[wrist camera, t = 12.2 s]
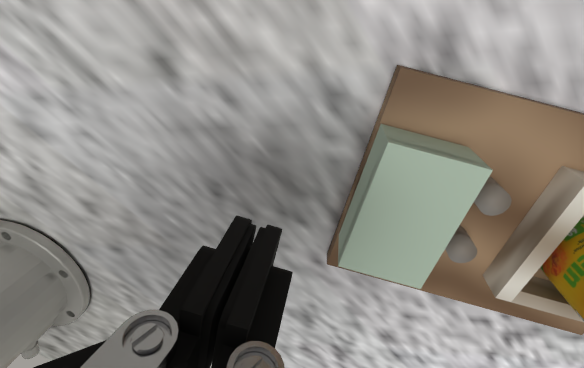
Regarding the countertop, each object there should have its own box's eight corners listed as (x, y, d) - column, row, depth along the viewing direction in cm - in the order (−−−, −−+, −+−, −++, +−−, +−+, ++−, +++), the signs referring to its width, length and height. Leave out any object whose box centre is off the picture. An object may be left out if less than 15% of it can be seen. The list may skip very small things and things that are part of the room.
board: (570, 320, 23) (602, 361, 20) (327, 253, 24) (325, 284, 21) (740, 154, 17) (822, 180, 14) (397, 64, 17) (408, 72, 14)
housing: (410, 254, 21) (420, 289, 18) (338, 235, 21) (338, 266, 18) (468, 147, 17) (492, 170, 14) (380, 123, 17) (388, 142, 14)
